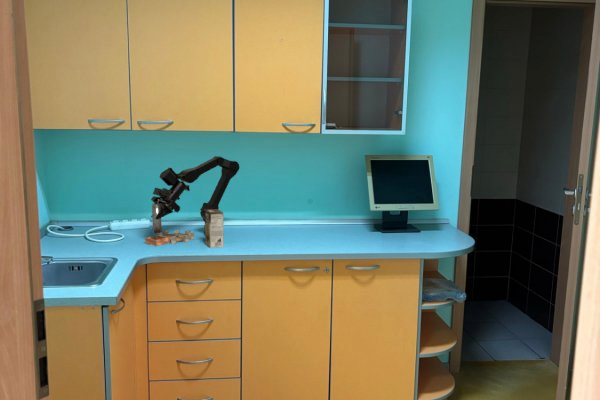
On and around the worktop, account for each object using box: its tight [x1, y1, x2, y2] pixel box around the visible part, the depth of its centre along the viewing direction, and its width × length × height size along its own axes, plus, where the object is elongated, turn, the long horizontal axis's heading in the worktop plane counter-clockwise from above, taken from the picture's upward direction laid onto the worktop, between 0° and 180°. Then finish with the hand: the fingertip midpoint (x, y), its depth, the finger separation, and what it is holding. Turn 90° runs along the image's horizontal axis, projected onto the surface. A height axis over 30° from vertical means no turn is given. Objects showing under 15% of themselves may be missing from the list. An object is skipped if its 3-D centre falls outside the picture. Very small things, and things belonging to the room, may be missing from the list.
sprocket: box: [144, 229, 195, 247], centre depth 277 cm, size 23×17×3 cm
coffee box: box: [204, 209, 224, 249], centre depth 266 cm, size 9×6×16 cm
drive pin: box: [151, 203, 163, 234], centre depth 269 cm, size 4×4×13 cm
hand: (154, 218), depth 268 cm, fingers closed on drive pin, 4 cm apart
